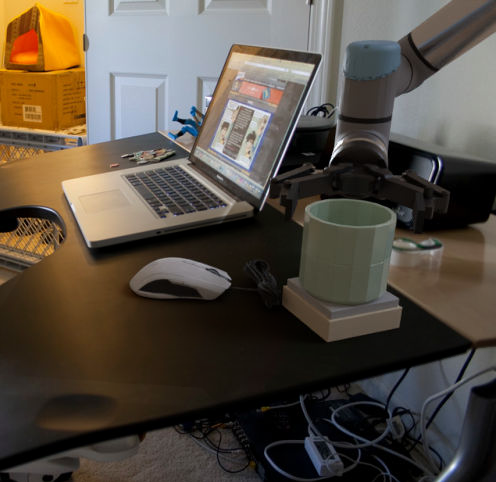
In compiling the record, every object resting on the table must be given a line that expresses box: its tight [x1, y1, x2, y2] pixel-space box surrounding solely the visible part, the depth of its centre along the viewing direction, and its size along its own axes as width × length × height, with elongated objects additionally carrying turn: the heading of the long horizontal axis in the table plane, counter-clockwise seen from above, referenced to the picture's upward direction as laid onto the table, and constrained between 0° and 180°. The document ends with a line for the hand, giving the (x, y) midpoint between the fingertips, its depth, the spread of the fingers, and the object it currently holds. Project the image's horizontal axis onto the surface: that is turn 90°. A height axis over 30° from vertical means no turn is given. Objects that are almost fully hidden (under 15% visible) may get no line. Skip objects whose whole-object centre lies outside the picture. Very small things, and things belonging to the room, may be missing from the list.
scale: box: [281, 276, 403, 343], centre depth 71 cm, size 9×9×4 cm
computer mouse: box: [129, 257, 282, 310], centre depth 78 cm, size 10×18×4 cm, turn 80°
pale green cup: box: [298, 198, 398, 304], centre depth 69 cm, size 9×9×9 cm
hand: (351, 216), depth 70 cm, fingers open, 13 cm apart
